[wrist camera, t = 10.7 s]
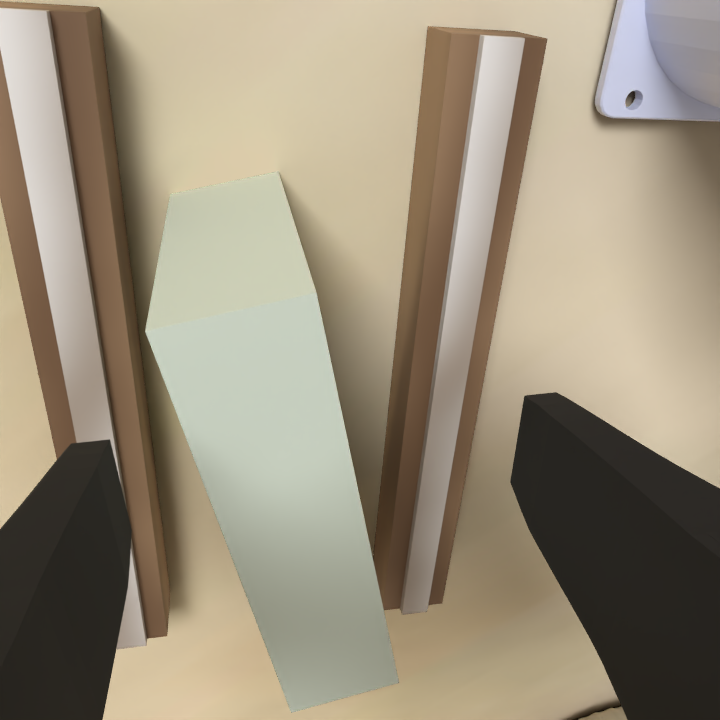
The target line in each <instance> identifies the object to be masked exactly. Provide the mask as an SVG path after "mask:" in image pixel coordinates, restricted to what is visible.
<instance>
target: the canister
mask: <svg viewBox="0 0 720 720" xmlns="http://www.w3.org/2000/svg"><path fill="white" fill-rule="evenodd" d="M578 720H627V718H626V715H625V713H624V711H623V708H622V706H621V707H618V708H609V709H607V710H605V711H602V712H596V713H593V714H591V715H590V716H587V717H584V718H580V719H578Z"/></svg>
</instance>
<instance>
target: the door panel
mask: <svg viewBox="0 0 720 720" xmlns="http://www.w3.org/2000/svg"><path fill="white" fill-rule="evenodd" d="M145 332H146V335H147V338H148V340H149V343H150V345H151V348H152V351H153V353H154V356H155V358H156V361H157V364H158V366H159V369H160V371H161V374H162V377H163V379H164V382H165V384H166V387H167V390H168V392H169V395H170V398H171V400H172V403H173V405H174V408H175V411H176V413H177V416H178V418H179V421H180V424H181V426H182V429H183V431H184V434H185V437H186V439H187V442H188V445H189V447H190V450H191V452H192V455H193V458H194V460H195V463H196V465H197V468H198V471H199V473H200V476H201V478H202V481H203V484H204V486H205V489H206V491H207V494H208V497H209V499H210V502H211V505H212V507H213V510H214V512H215V515H216V518H217V520H218V523H219V525H220V528H221V531H222V533H223V536H224V538H225V541H226V544H227V546H228V549H229V551H230V554H231V557H232V559H233V562H234V565H235V567H236V570H237V572H238V575H239V578H240V580H241V583H242V585H243V588H244V591H245V593H246V596H247V598H248V601H249V604H250V606H251V609H252V612H253V614H254V617H255V619H256V622H257V625H258V627H259V630H260V632H261V635H262V638H263V640H264V643H265V645H266V648H267V651H268V653H269V656H270V658H271V661H272V664H273V666H274V669H275V672H276V674H277V677H278V679H279V682H280V685H281V687H282V690H283V692H284V695H285V698H286V700H287V703H288V705H289V708H290V711H291V713H292V712H296V711H299V710H303V709H306V708H310V707H314V706H317V705H321V704H324V703H328V702H332V701H335V700H339V699H342V698H346V697H350V696H353V695H357V694H360V693H364V692H368V691H371V690H375V689H379V688H382V687H386V686H389V685H393V684H397V683H399V680H398V675H397V670H396V666H395V661H394V656H393V652H392V647H391V642H390V637H389V633H388V628H387V623H386V619H385V614H384V609H383V604H382V600H381V595H380V590H379V586H378V581H377V576H376V571H375V567H374V562H373V557H372V552H371V548H370V543H369V538H368V534H367V529H366V524H365V519H364V515H363V510H362V505H361V501H360V496H359V491H358V486H357V482H356V477H355V472H354V467H353V463H352V458H351V453H350V449H349V444H348V439H347V434H346V430H345V425H344V420H343V416H342V411H341V406H340V401H339V397H338V392H337V387H336V382H335V378H334V373H333V368H332V364H331V359H330V354H329V349H328V345H327V340H326V335H325V331H324V326H323V321H322V316H321V312H320V307H319V302H318V298H317V293H316V290H315V286H314V283H313V280H312V277H311V274H310V270H309V267H308V264H307V261H306V258H305V255H304V251H303V248H302V245H301V242H300V239H299V235H298V232H297V229H296V226H295V223H294V220H293V216H292V213H291V210H290V207H289V204H288V201H287V197H286V194H285V191H284V188H283V185H282V181H281V178H280V175H279V172H278V171H277V172H272V173H268V174H263V175H258V176H253V177H249V178H244V179H239V180H234V181H230V182H225V183H220V184H215V185H211V186H206V187H201V188H196V189H192V190H187V191H182V192H177V193H173V194H170V198H169V203H168V209H167V214H166V220H165V225H164V231H163V236H162V242H161V247H160V253H159V258H158V264H157V269H156V275H155V280H154V285H153V291H152V296H151V302H150V307H149V313H148V318H147V324H146V329H145Z"/></svg>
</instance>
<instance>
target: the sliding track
mask: <svg viewBox="0 0 720 720" xmlns="http://www.w3.org/2000/svg"><path fill="white" fill-rule="evenodd" d="M546 43H547V39H546V38H542V37H537V36H533V35H529V34H524V33H520V32H515V31H498V30H481V29H464V28H447V27H430V26H428V30H427V40H426V49H425V59H424V69H423V79H422V88H421V98H420V108H419V117H418V127H417V137H416V147H415V156H414V166H413V176H412V186H411V195H410V205H409V215H408V224H407V234H406V244H405V254H404V263H403V273H402V283H401V293H400V302H399V312H398V322H397V331H396V341H395V351H394V361H393V370H392V380H391V390H390V400H389V409H388V419H387V429H386V438H385V448H384V458H383V468H382V477H381V487H380V497H379V507H378V516H377V526H376V536H375V545H374V555H373V562H374V567H375V571H376V576H377V581H378V586H379V590H380V595H381V600H382V604H383V609H384V610H390V609H398V608H400V610H401V613H402V615H404V614H412V613H420V612H427V609H428V605H432V604H440V603H442V601H443V596H444V590H445V585H446V580H447V574H448V569H449V563H450V558H451V553H452V547H453V542H454V537H455V531H456V526H457V521H458V515H459V510H460V504H461V499H462V494H463V488H464V483H465V478H466V472H467V467H468V462H469V456H470V451H471V446H472V440H473V435H474V429H475V424H476V419H477V413H478V408H479V403H480V397H481V392H482V387H483V381H484V376H485V370H486V365H487V360H488V354H489V349H490V344H491V338H492V333H493V328H494V322H495V317H496V311H497V306H498V301H499V295H500V290H501V285H502V279H503V274H504V269H505V263H506V258H507V252H508V247H509V242H510V236H511V231H512V226H513V220H514V215H515V210H516V204H517V199H518V193H519V188H520V183H521V177H522V172H523V167H524V161H525V156H526V151H527V145H528V140H529V135H530V129H531V124H532V118H533V113H534V108H535V102H536V97H537V92H538V86H539V81H540V76H541V70H542V65H543V59H544V54H545V49H546ZM0 198H1V203H2V207H3V212H4V217H5V221H6V226H7V231H8V235H9V240H10V244H11V249H12V254H13V258H14V263H15V268H16V272H17V277H18V281H19V286H20V291H21V295H22V300H23V304H24V309H25V314H26V318H27V323H28V328H29V332H30V337H31V341H32V346H33V351H34V355H35V360H36V365H37V369H38V374H39V378H40V383H41V388H42V392H43V397H44V402H45V406H46V411H47V415H48V420H49V425H50V429H51V434H52V438H53V443H54V448H55V452H56V457H57V459H58V458H59V457H60V456H61V454H62V453H63V452H64V451H65V450H66V448H67V447H68V446H69V445H70V444H71V443H80V442H90V441H99V440H109V439H110V441H111V446H112V450H113V454H114V458H115V462H116V466H117V471H118V475H119V479H120V483H121V487H122V491H123V495H124V500H125V504H126V508H127V512H128V516H129V520H130V525H131V529H132V536H131V553H130V568H129V582H128V590H127V595H126V601H125V606H124V611H123V617H122V622H121V627H120V632H119V638H118V643H117V649H124V648H132V647H140V646H146V644H147V638H155V637H164V636H167V632H168V618H169V603H170V585H169V577H168V569H167V561H166V553H165V544H164V536H163V528H162V520H161V511H160V503H159V495H158V487H157V478H156V470H155V462H154V454H153V445H152V437H151V429H150V421H149V412H148V404H147V396H146V388H145V380H144V371H143V363H142V355H141V347H140V338H139V330H138V322H137V314H136V305H135V297H134V289H133V281H132V272H131V264H130V256H129V248H128V239H127V231H126V223H125V215H124V206H123V198H122V190H121V182H120V174H119V165H118V157H117V149H116V141H115V132H114V124H113V116H112V108H111V99H110V91H109V83H108V75H107V66H106V58H105V50H104V42H103V33H102V25H101V17H100V9H99V7H88V6H70V5H53V4H36V3H19V2H2V1H0Z"/></svg>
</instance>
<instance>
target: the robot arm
mask: <svg viewBox="0 0 720 720" xmlns="http://www.w3.org/2000/svg"><path fill="white" fill-rule="evenodd" d="M632 91H634V92H635V99H634V101H633V103H632V104H631V105H630V106H629V107H626V105H625V100H626V98H627V96H628V94H629V93H630V92H632ZM595 106H596V109H597V111H598V112H599V113H600V114H601V115H604V116H607V117H610V118H624V119H655V120H687V121H718V122H720V0H617V4H616V9H615V13H614V18H613V22H612V26H611V31H610V35H609V39H608V44H607V48H606V52H605V57H604V61H603V66H602V70H601V74H600V79H599V83H598V87H597V92H596V96H595ZM511 485H512V487H513V490H514V493H515V495H516V498H517V501H518V503H519V506H520V509H521V511H522V513H523V516H524V518H525V521H526V523H527V526H528V528H529V530H530V532H531V534H532V536H533V538H534V540H535V541H536V543H537V545H538V547H539V549H540V550H541V552H542V554H543V556H544V558H545V559H546V561H547V563H548V565H549V567H550V568H551V570H552V572H553V574H554V576H555V577H556V579H557V581H558V583H559V584H560V586H561V588H562V590H563V591H564V593H565V595H566V597H567V598H568V600H569V602H570V604H571V605H572V607H573V609H574V611H575V613H576V614H577V616H578V618H579V620H580V621H581V623H582V625H583V627H584V628H585V630H586V632H587V634H588V635H589V637H590V639H591V641H592V643H593V645H594V647H595V649H596V651H597V653H598V655H599V657H600V659H601V661H602V663H603V665H604V667H605V670H606V672H607V674H608V677H609V679H610V681H611V683H612V686H613V688H614V690H615V692H616V695H617V697H618V699H619V701H620V704H621V706H622V708H623V711H624V713H625V715H626V718H627V720H720V488H718V487H716V486H714V485H712V484H710V483H708V482H707V481H705V480H703V479H701V478H699V477H697V476H696V475H694V474H692V473H690V472H688V471H686V470H685V469H683V468H681V467H679V466H678V465H676V464H674V463H672V462H671V461H669V460H667V459H665V458H664V457H662V456H660V455H659V454H657V453H655V452H654V451H652V450H650V449H649V448H647V447H645V446H644V445H642V444H640V443H639V442H637V441H635V440H634V439H632V438H631V437H629V436H627V435H626V434H624V433H623V432H621V431H619V430H618V429H616V428H615V427H613V426H611V425H610V424H608V423H607V422H605V421H603V420H602V419H600V418H599V417H597V416H595V415H594V414H592V413H591V412H589V411H587V410H586V409H584V408H582V407H581V406H579V405H577V404H576V403H574V402H572V401H571V400H569V399H567V398H566V397H564V396H562V395H560V394H558V393H546V394H537V395H527V396H524V402H523V408H522V414H521V420H520V427H519V433H518V439H517V445H516V451H515V457H514V463H513V469H512V475H511ZM131 536H132V529H131V525H130V520H129V516H128V512H127V508H126V504H125V500H124V495H123V491H122V487H121V483H120V479H119V475H118V471H117V466H116V462H115V458H114V454H113V450H112V446H111V441H110V439H109V440H99V441H90V442H80V443H71V444H70V445H69V446H68V447H67V448H66V450H65V451H64V452H63V453H62V454H61V456H60V457H59V458H58V459H57V461H56V462H55V463H54V464H53V466H52V467H51V468H50V469H49V471H48V472H47V473H46V474H45V476H44V477H43V478H42V479H41V481H40V482H39V483H38V484H37V486H36V487H35V488H34V489H33V491H32V492H31V493H30V494H29V495H28V497H27V498H26V499H25V500H24V502H23V503H22V504H21V505H20V506H19V508H18V509H17V510H16V511H15V512H14V514H13V515H12V516H11V517H10V518H9V519H8V521H7V522H6V523H5V524H4V525H3V526H2V528H1V529H0V720H102V719H103V714H104V709H105V704H106V699H107V693H108V688H109V683H110V678H111V673H112V668H113V663H114V658H115V653H116V648H117V643H118V638H119V632H120V627H121V622H122V617H123V611H124V606H125V601H126V595H127V590H128V582H129V568H130V553H131Z"/></svg>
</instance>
